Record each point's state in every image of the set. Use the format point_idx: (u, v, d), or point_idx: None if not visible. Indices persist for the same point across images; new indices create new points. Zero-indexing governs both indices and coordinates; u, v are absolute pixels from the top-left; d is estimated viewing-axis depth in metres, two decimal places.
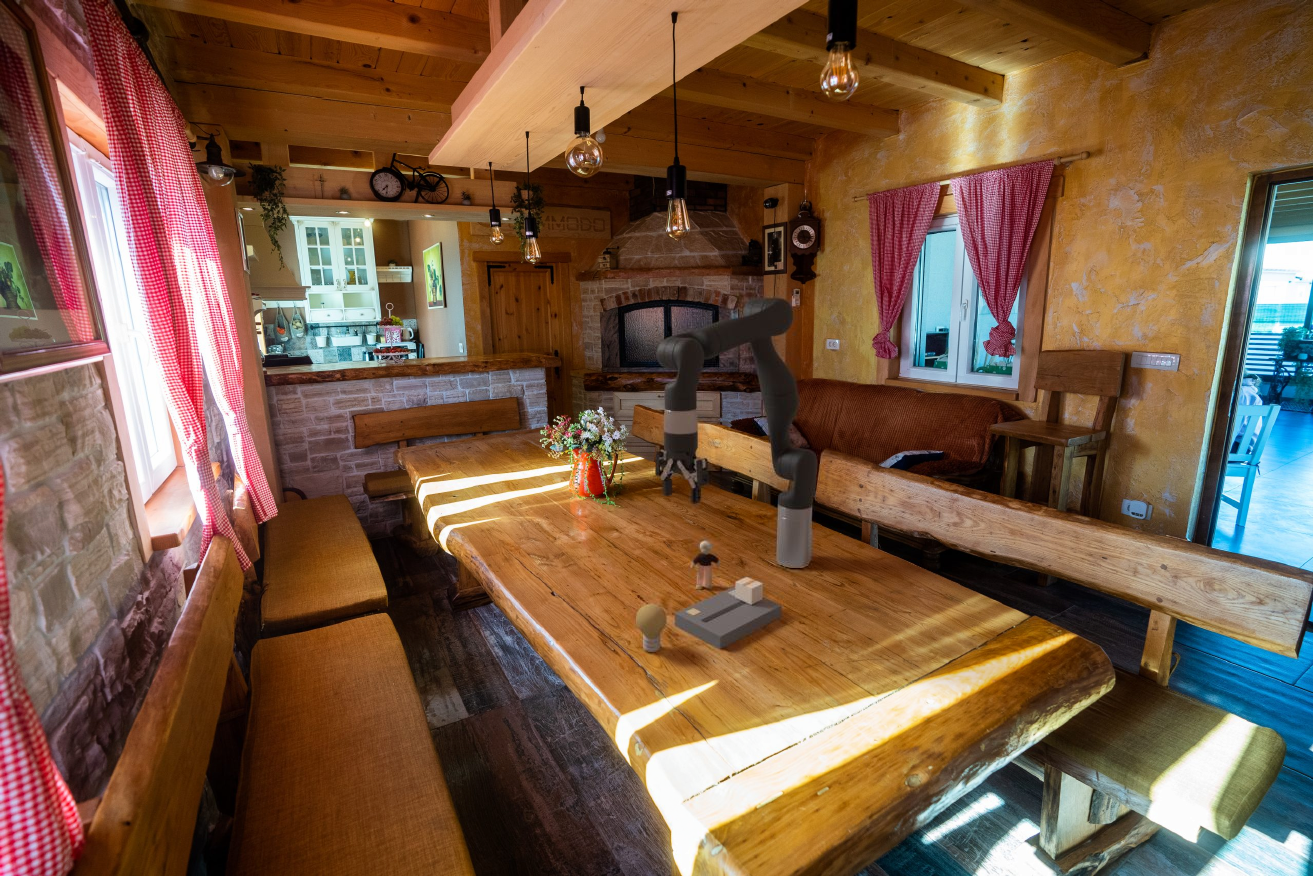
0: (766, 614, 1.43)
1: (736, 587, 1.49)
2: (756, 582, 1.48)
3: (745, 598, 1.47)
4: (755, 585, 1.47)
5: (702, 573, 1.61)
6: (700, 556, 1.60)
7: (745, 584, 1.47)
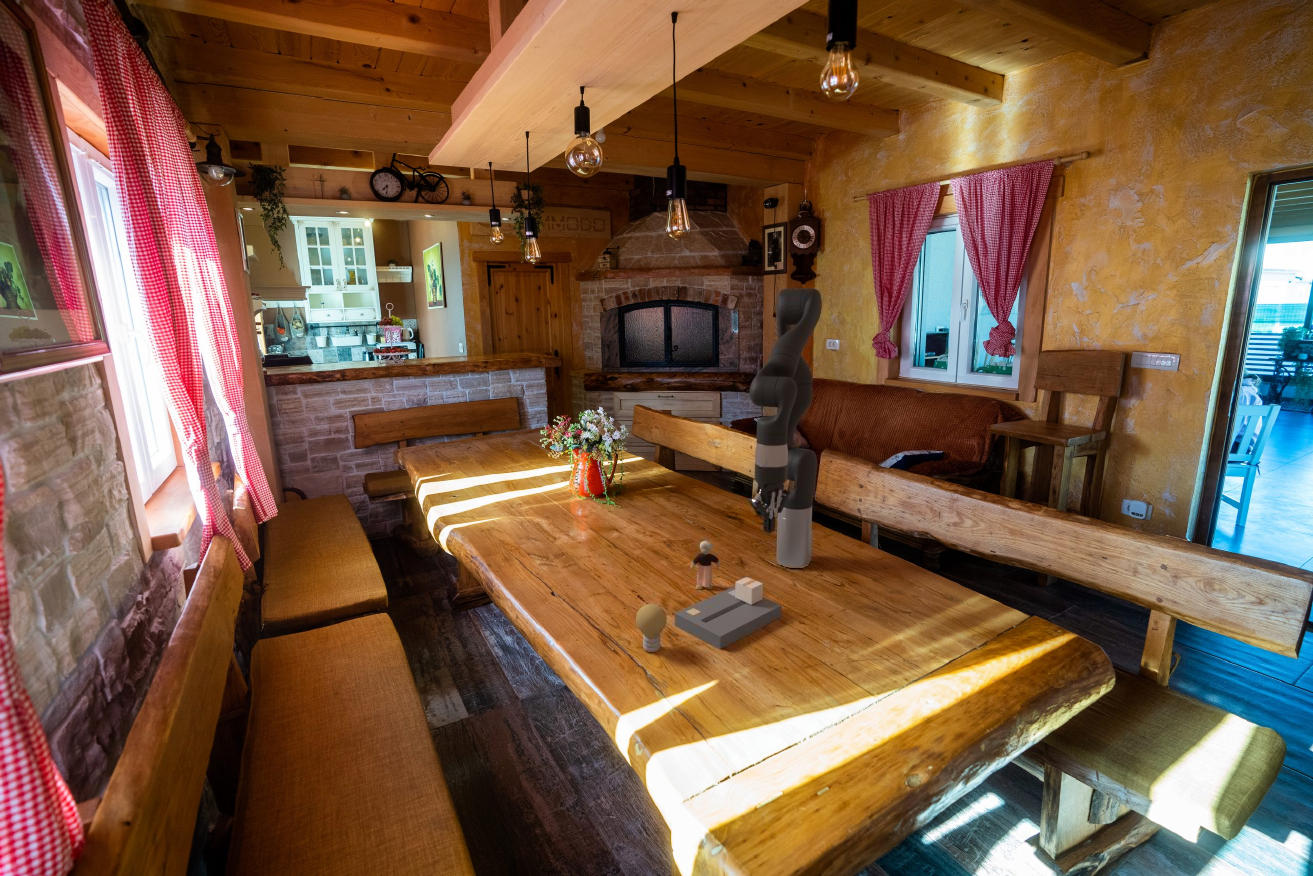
0: (766, 614, 1.43)
1: (736, 587, 1.49)
2: (756, 582, 1.48)
3: (745, 598, 1.47)
4: (755, 585, 1.47)
5: (702, 573, 1.61)
6: (700, 556, 1.60)
7: (745, 584, 1.47)
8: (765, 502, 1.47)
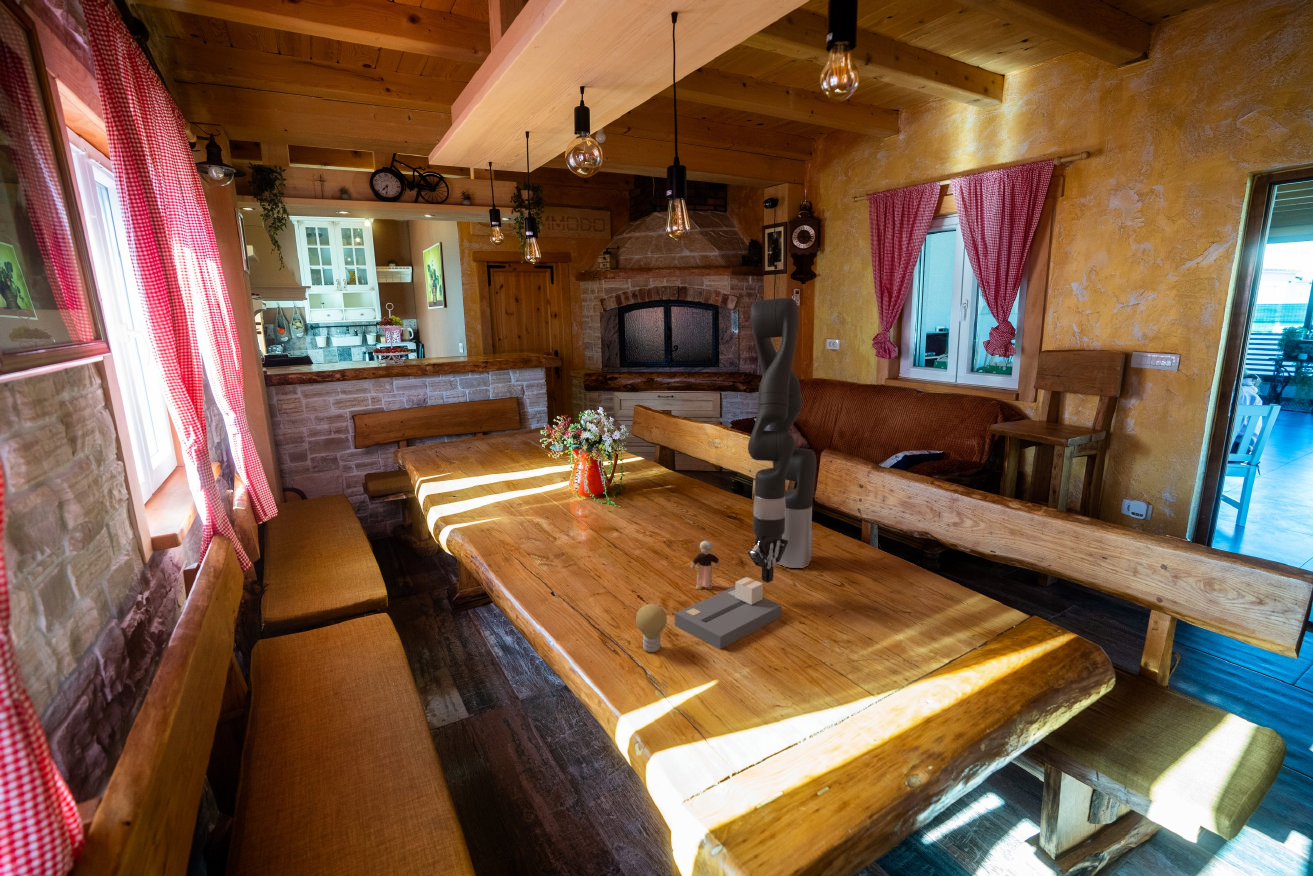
0: (766, 614, 1.43)
1: (736, 587, 1.49)
2: (756, 582, 1.48)
3: (745, 598, 1.47)
4: (755, 585, 1.47)
5: (702, 573, 1.61)
6: (700, 556, 1.60)
7: (745, 584, 1.47)
8: (763, 553, 1.49)
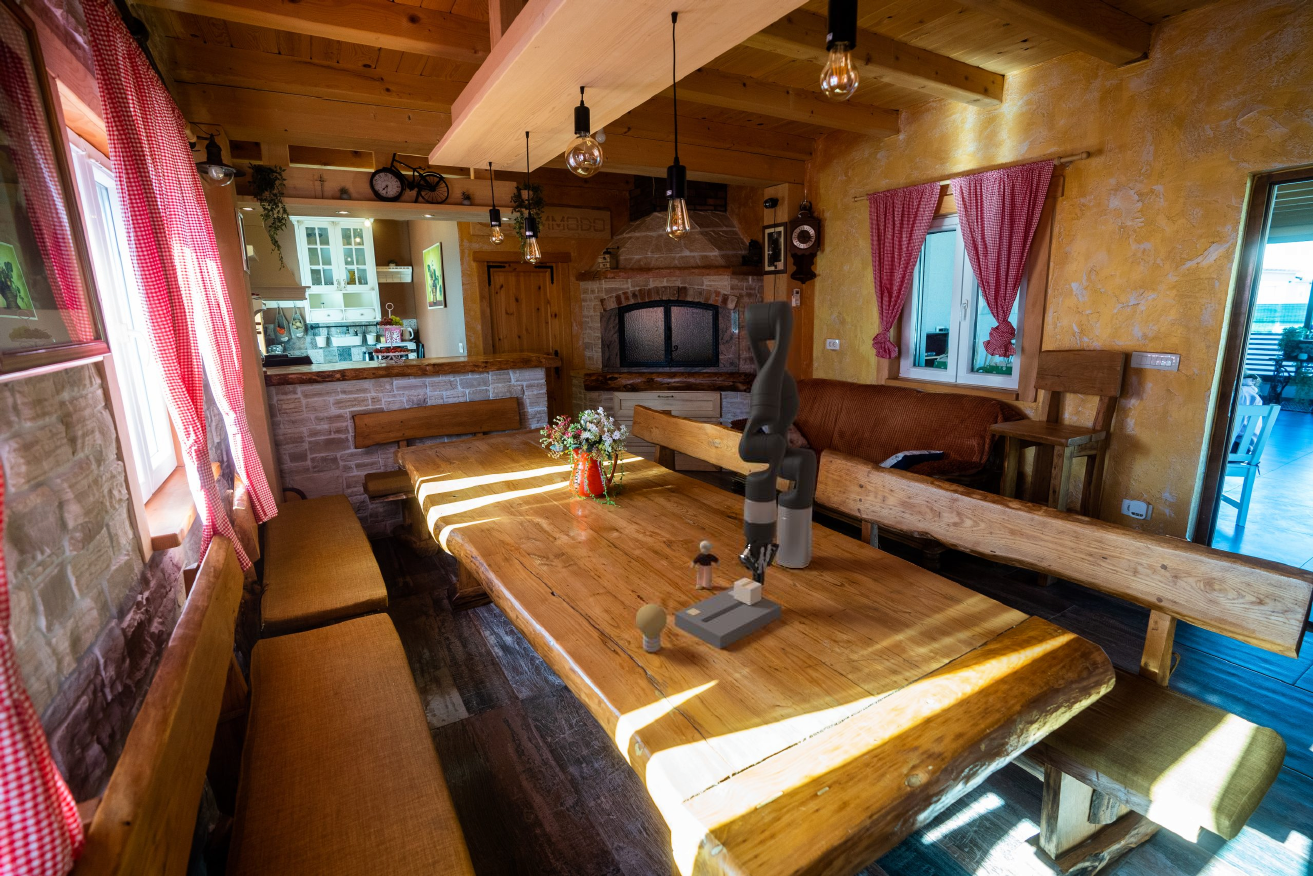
0: (766, 614, 1.43)
1: (735, 587, 1.48)
2: (755, 583, 1.48)
3: (743, 598, 1.47)
4: (754, 586, 1.46)
5: (702, 573, 1.61)
6: (700, 556, 1.60)
7: (743, 584, 1.47)
8: (754, 557, 1.47)
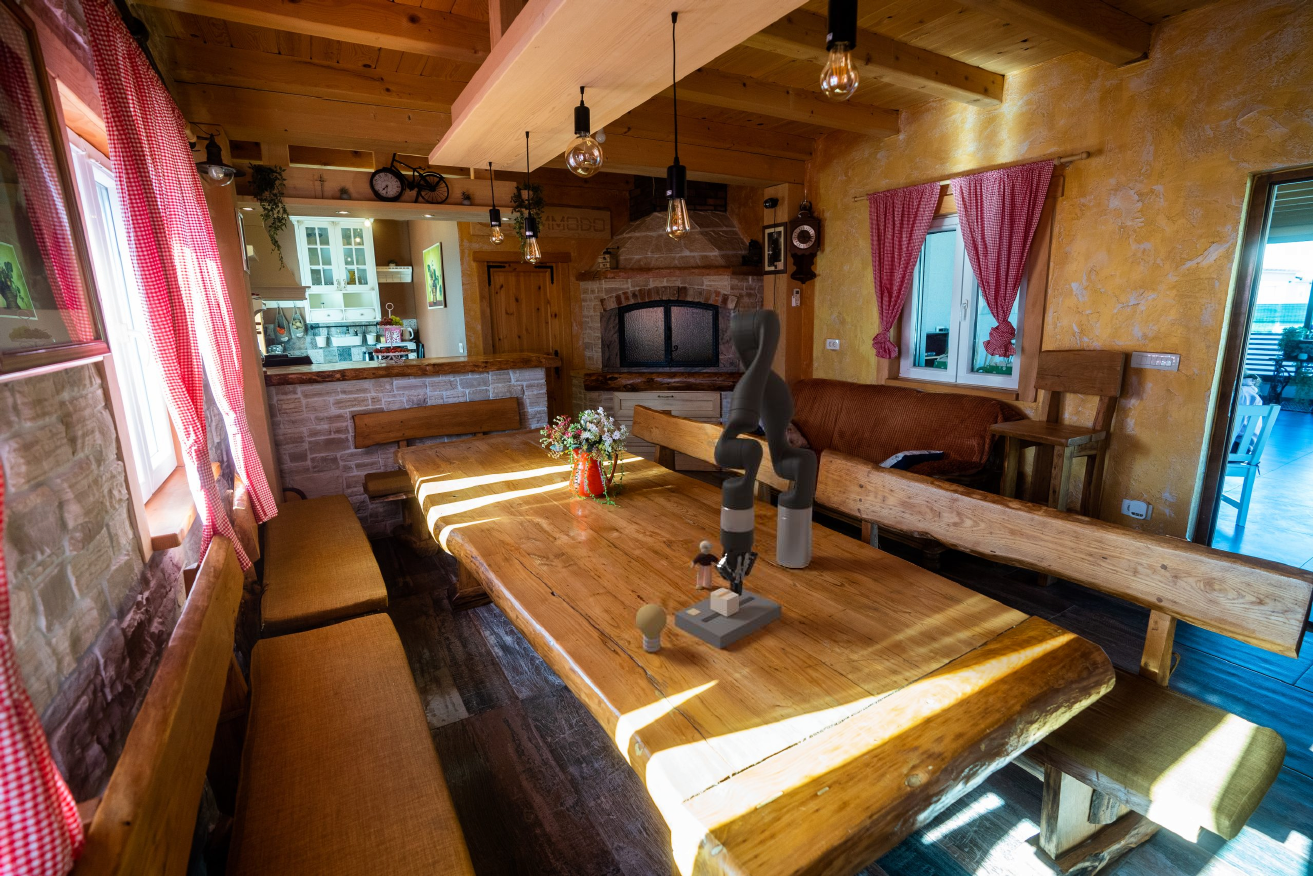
0: (766, 614, 1.43)
1: (711, 598, 1.43)
2: (732, 593, 1.43)
3: (720, 609, 1.42)
4: (731, 596, 1.41)
5: (702, 573, 1.61)
6: (700, 556, 1.60)
7: (720, 595, 1.42)
8: (731, 567, 1.42)
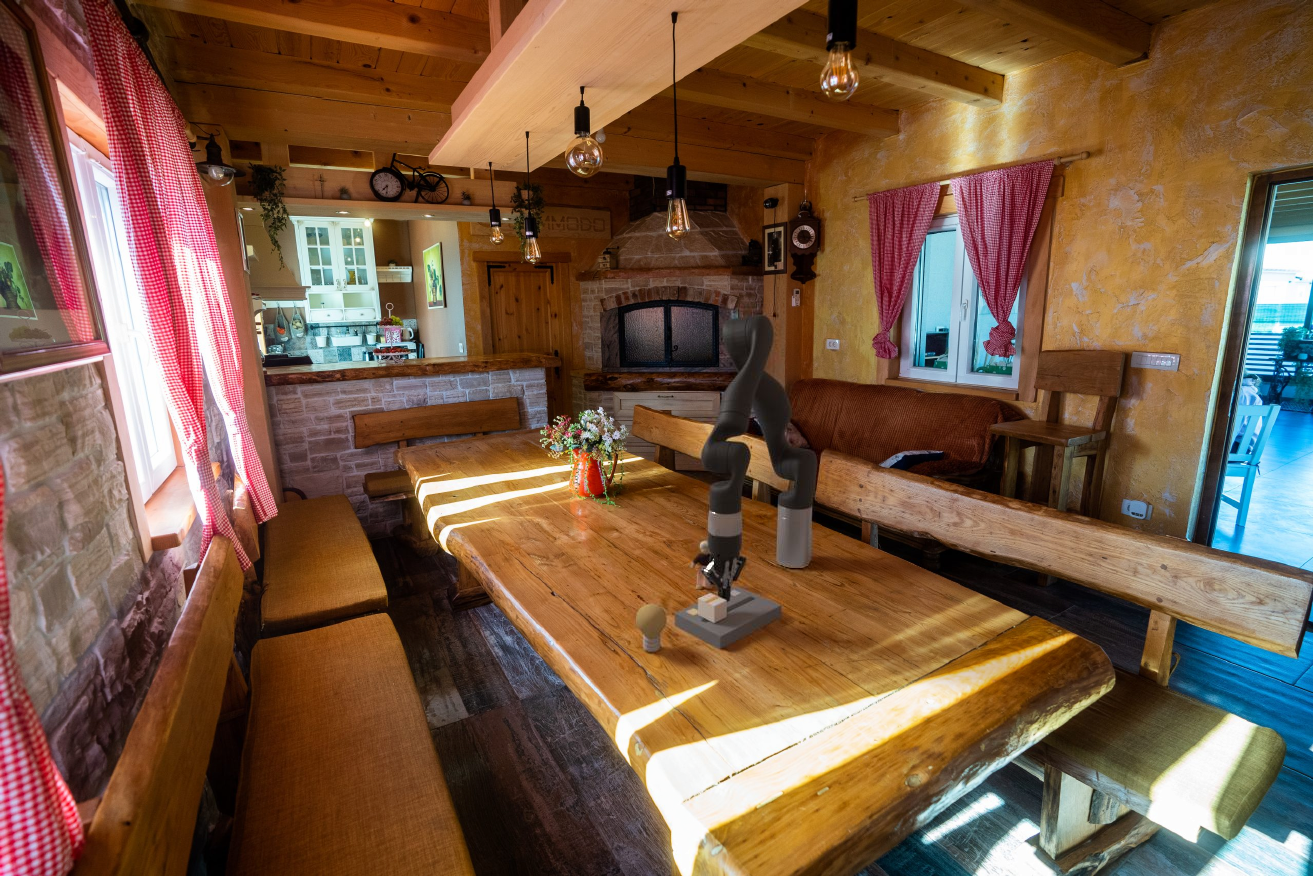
0: (766, 614, 1.43)
1: (699, 604, 1.41)
2: (720, 599, 1.40)
3: (707, 615, 1.39)
4: (718, 602, 1.39)
5: None
6: (700, 556, 1.60)
7: (707, 601, 1.39)
8: (719, 572, 1.39)
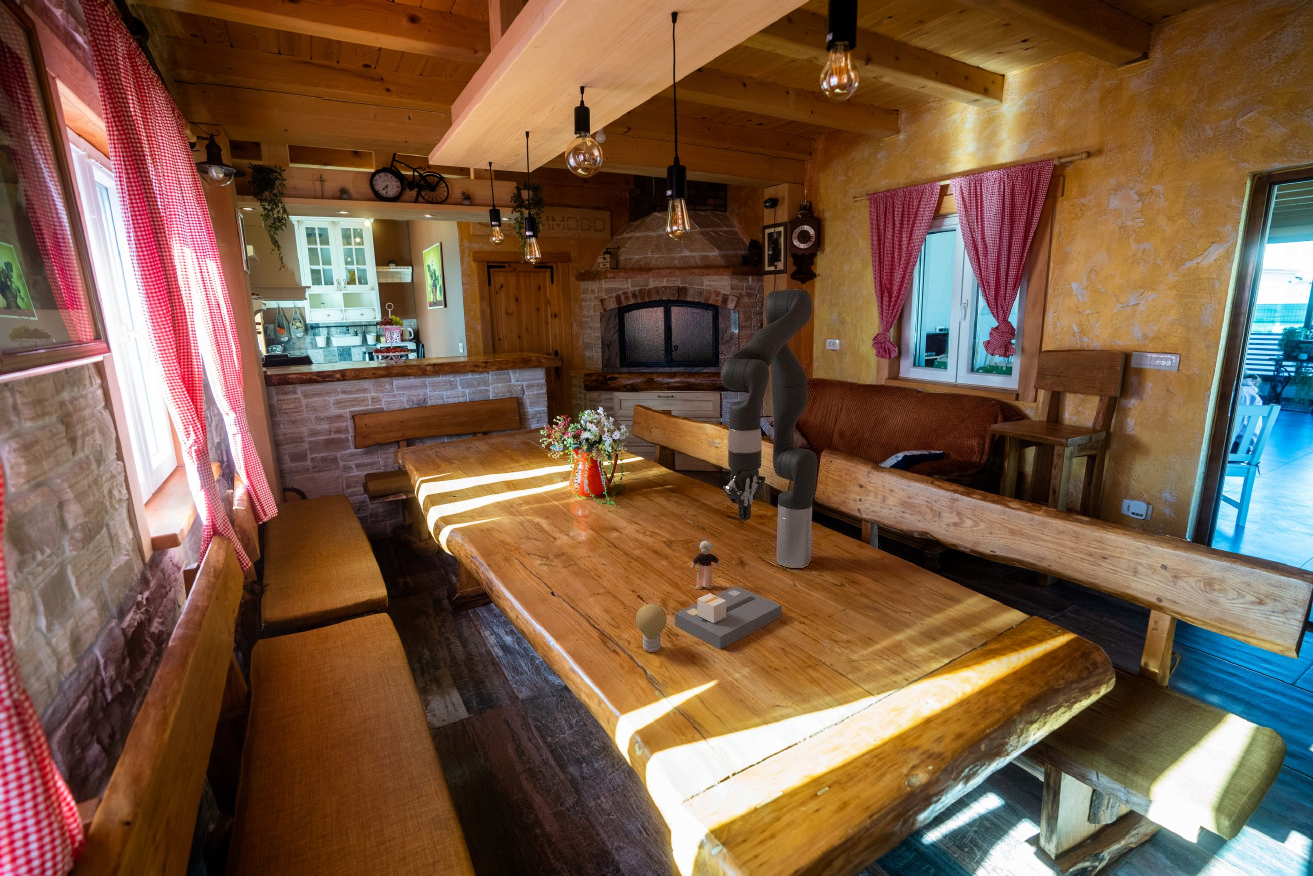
0: (766, 614, 1.43)
1: (698, 604, 1.40)
2: (719, 599, 1.40)
3: (707, 616, 1.39)
4: (718, 602, 1.38)
5: (702, 573, 1.61)
6: (700, 556, 1.60)
7: (707, 601, 1.39)
8: (739, 489, 1.43)
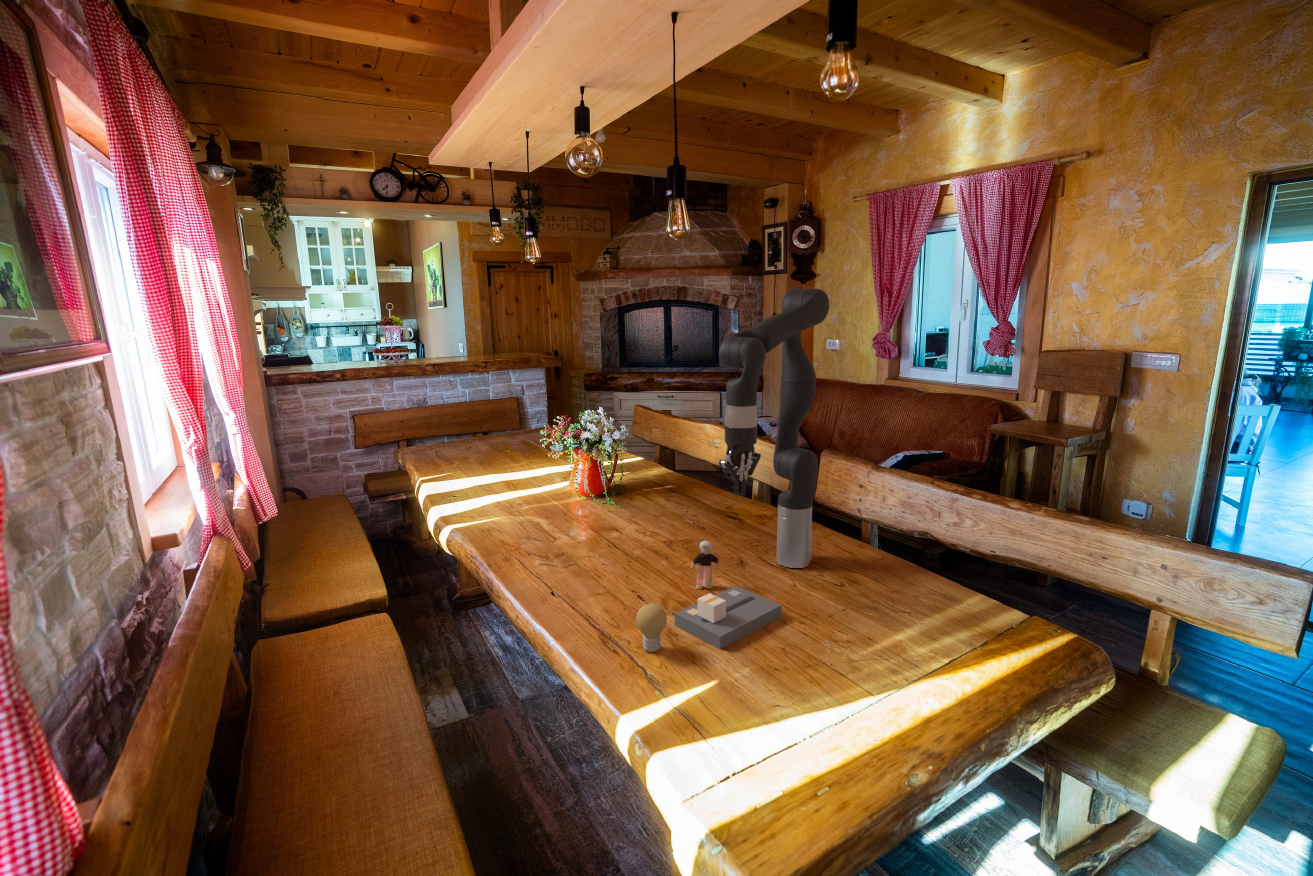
0: (766, 614, 1.43)
1: (698, 604, 1.40)
2: (719, 599, 1.40)
3: (707, 616, 1.39)
4: (718, 602, 1.38)
5: (702, 573, 1.61)
6: (700, 556, 1.60)
7: (707, 601, 1.39)
8: (735, 464, 1.47)
